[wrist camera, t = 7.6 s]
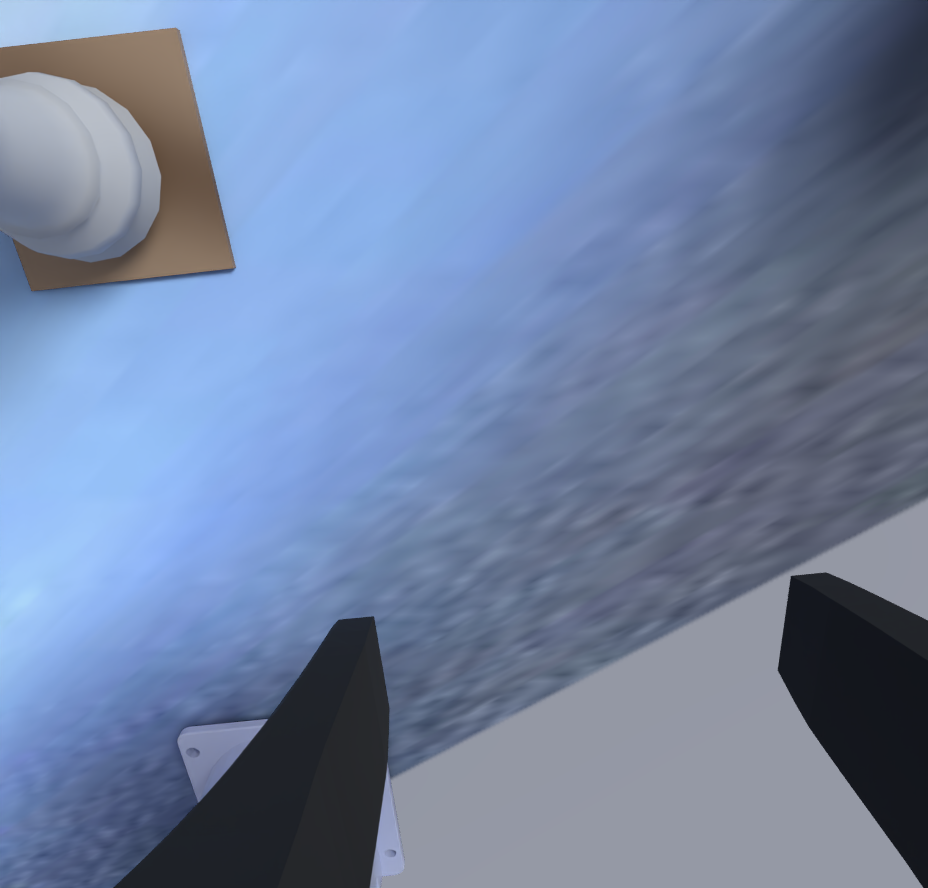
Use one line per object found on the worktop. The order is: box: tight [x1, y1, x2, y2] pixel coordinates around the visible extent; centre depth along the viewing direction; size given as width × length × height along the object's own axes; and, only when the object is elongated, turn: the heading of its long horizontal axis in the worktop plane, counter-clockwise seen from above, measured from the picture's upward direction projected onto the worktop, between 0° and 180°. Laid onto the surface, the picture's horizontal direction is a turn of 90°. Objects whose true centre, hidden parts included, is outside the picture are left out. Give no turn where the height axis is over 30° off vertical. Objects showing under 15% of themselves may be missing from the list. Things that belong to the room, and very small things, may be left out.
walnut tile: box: [0, 28, 236, 291], centre depth 17 cm, size 6×6×1 cm
